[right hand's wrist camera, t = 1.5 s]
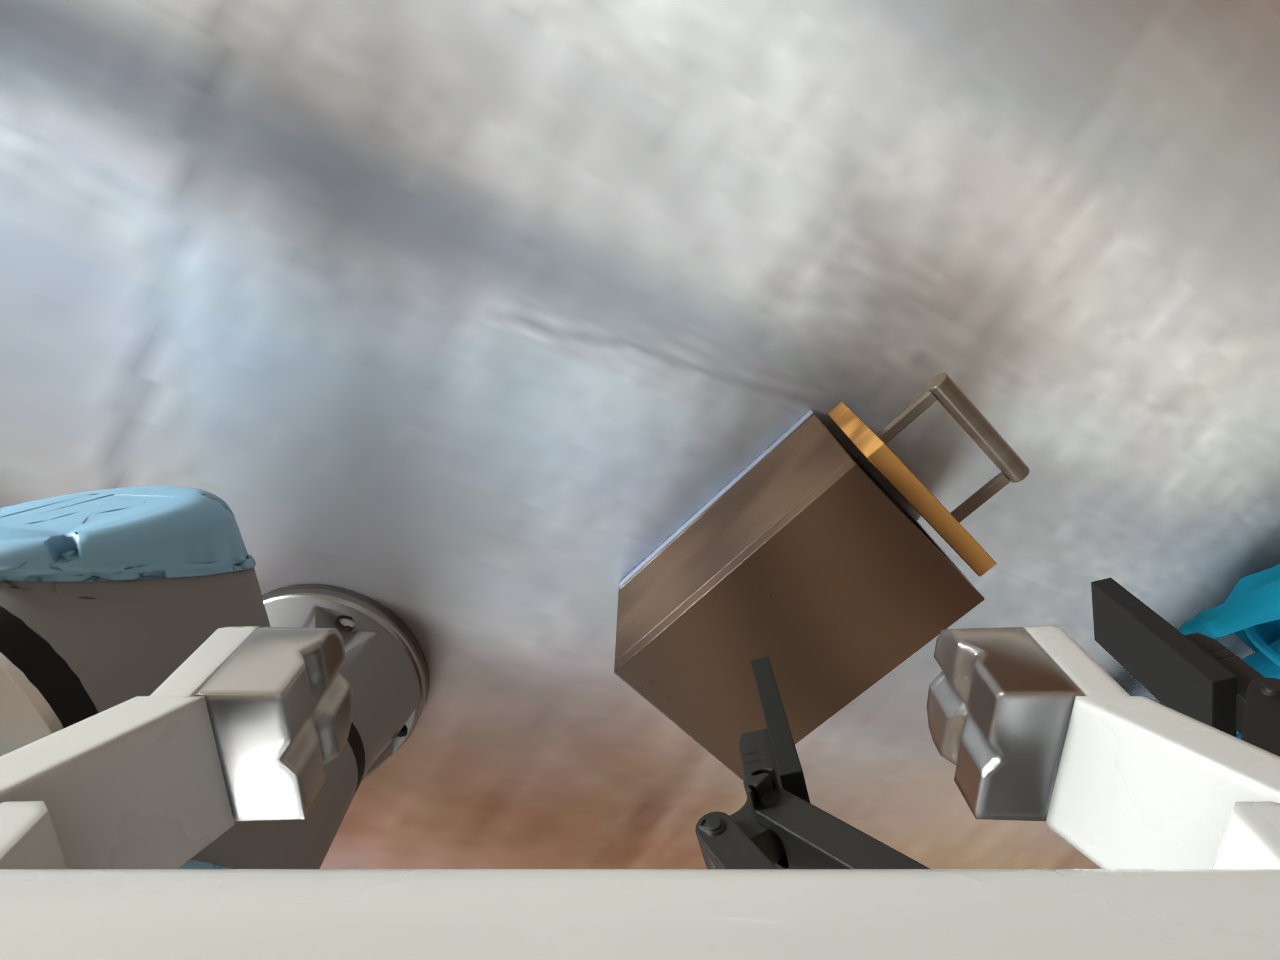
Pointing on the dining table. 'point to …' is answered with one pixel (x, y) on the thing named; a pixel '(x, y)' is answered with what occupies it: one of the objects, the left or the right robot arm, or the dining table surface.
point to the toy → (1248, 620)
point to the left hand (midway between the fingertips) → (930, 647)
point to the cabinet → (783, 595)
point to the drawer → (909, 483)
